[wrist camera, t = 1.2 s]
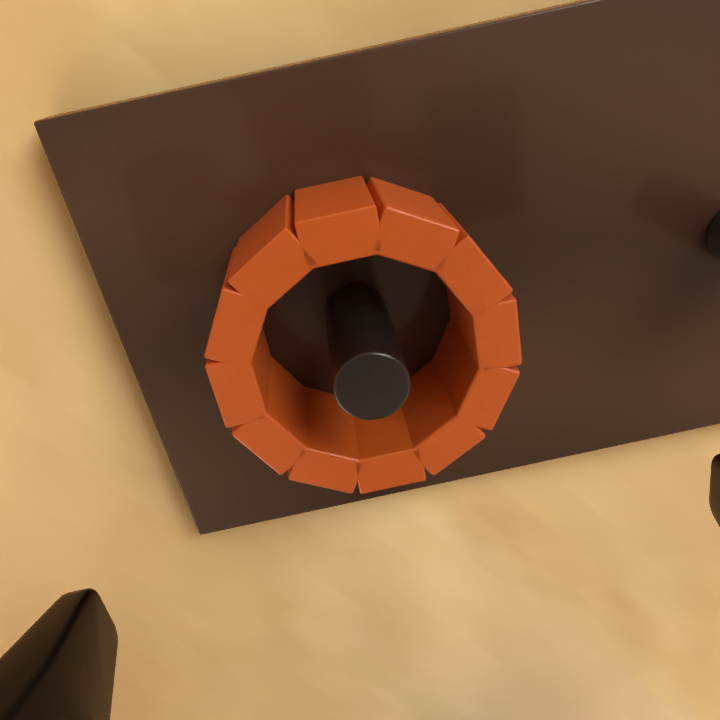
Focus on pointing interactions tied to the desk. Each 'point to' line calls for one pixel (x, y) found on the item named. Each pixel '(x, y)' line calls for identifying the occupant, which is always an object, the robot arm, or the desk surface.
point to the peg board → (462, 200)
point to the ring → (428, 385)
